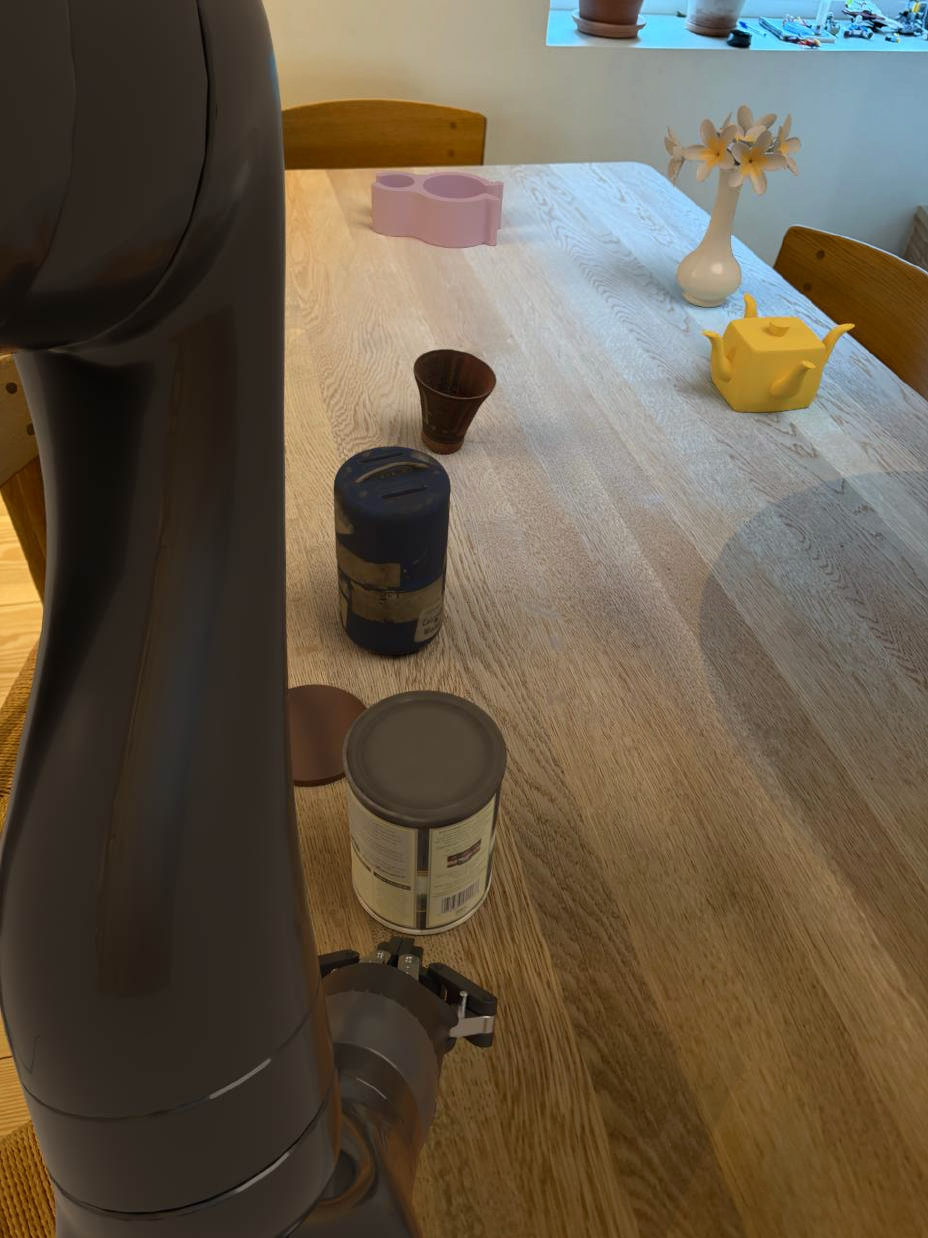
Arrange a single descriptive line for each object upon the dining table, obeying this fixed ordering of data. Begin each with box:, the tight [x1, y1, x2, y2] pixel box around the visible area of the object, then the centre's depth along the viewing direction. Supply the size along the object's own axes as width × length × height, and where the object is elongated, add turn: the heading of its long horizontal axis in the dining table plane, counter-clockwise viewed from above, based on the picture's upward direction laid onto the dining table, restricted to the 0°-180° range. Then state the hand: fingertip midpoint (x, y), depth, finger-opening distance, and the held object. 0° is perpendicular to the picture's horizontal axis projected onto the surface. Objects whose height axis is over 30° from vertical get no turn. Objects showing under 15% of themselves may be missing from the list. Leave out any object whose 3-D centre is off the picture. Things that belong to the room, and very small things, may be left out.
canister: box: [333, 445, 452, 656], centre depth 81 cm, size 10×10×18 cm
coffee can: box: [342, 689, 508, 936], centre depth 65 cm, size 10×10×14 cm
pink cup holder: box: [370, 170, 505, 249], centre depth 150 cm, size 20×12×7 cm, turn 83°
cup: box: [412, 348, 497, 455], centre depth 105 cm, size 9×9×10 cm
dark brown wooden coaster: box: [289, 683, 368, 787], centre depth 78 cm, size 10×10×1 cm
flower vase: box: [663, 104, 802, 308], centre depth 130 cm, size 13×18×25 cm
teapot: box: [700, 293, 856, 413], centre depth 118 cm, size 15×14×10 cm
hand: (401, 952), depth 60 cm, fingers closed
